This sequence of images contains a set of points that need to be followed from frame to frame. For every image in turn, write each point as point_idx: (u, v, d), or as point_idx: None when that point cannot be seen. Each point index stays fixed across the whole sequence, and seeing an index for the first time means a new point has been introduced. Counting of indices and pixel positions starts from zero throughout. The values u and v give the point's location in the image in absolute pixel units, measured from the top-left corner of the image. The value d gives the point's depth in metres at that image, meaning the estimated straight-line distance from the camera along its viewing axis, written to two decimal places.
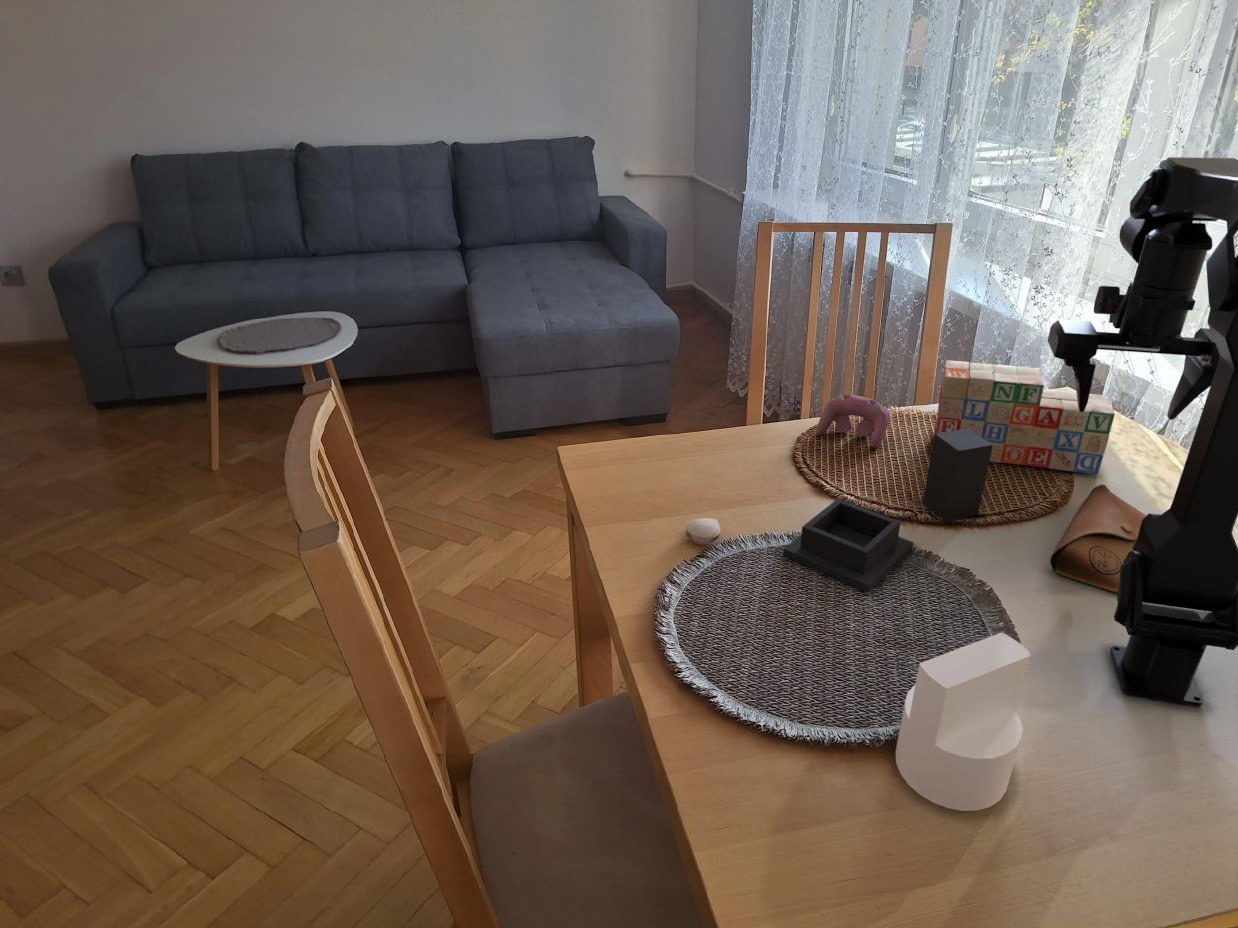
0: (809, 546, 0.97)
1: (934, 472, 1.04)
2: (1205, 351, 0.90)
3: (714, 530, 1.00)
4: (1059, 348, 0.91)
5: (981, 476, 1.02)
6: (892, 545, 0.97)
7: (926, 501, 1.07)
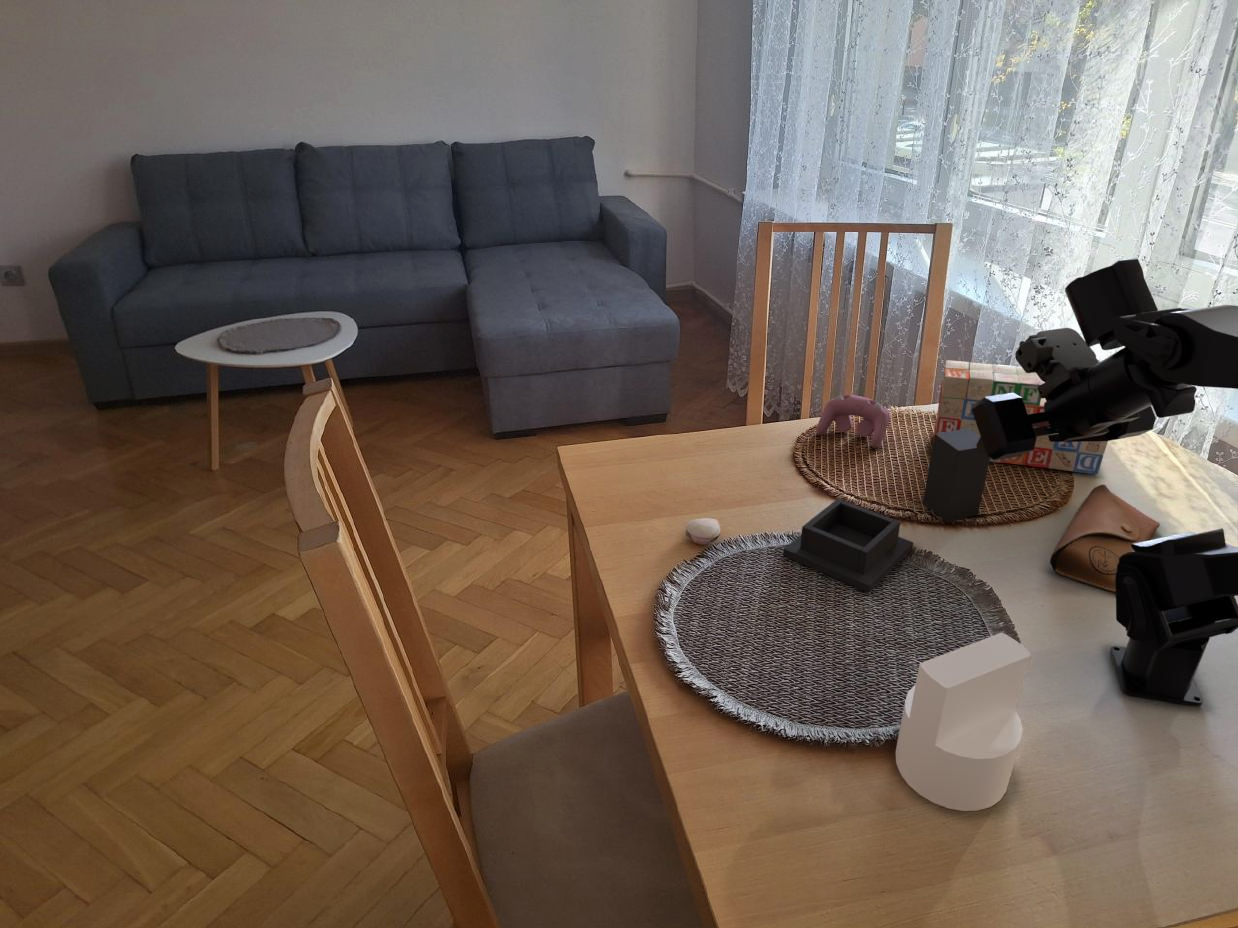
0: (809, 546, 0.97)
1: (934, 472, 1.04)
2: None
3: (714, 530, 1.00)
4: (997, 454, 0.82)
5: (981, 476, 1.02)
6: (892, 545, 0.97)
7: (926, 501, 1.07)
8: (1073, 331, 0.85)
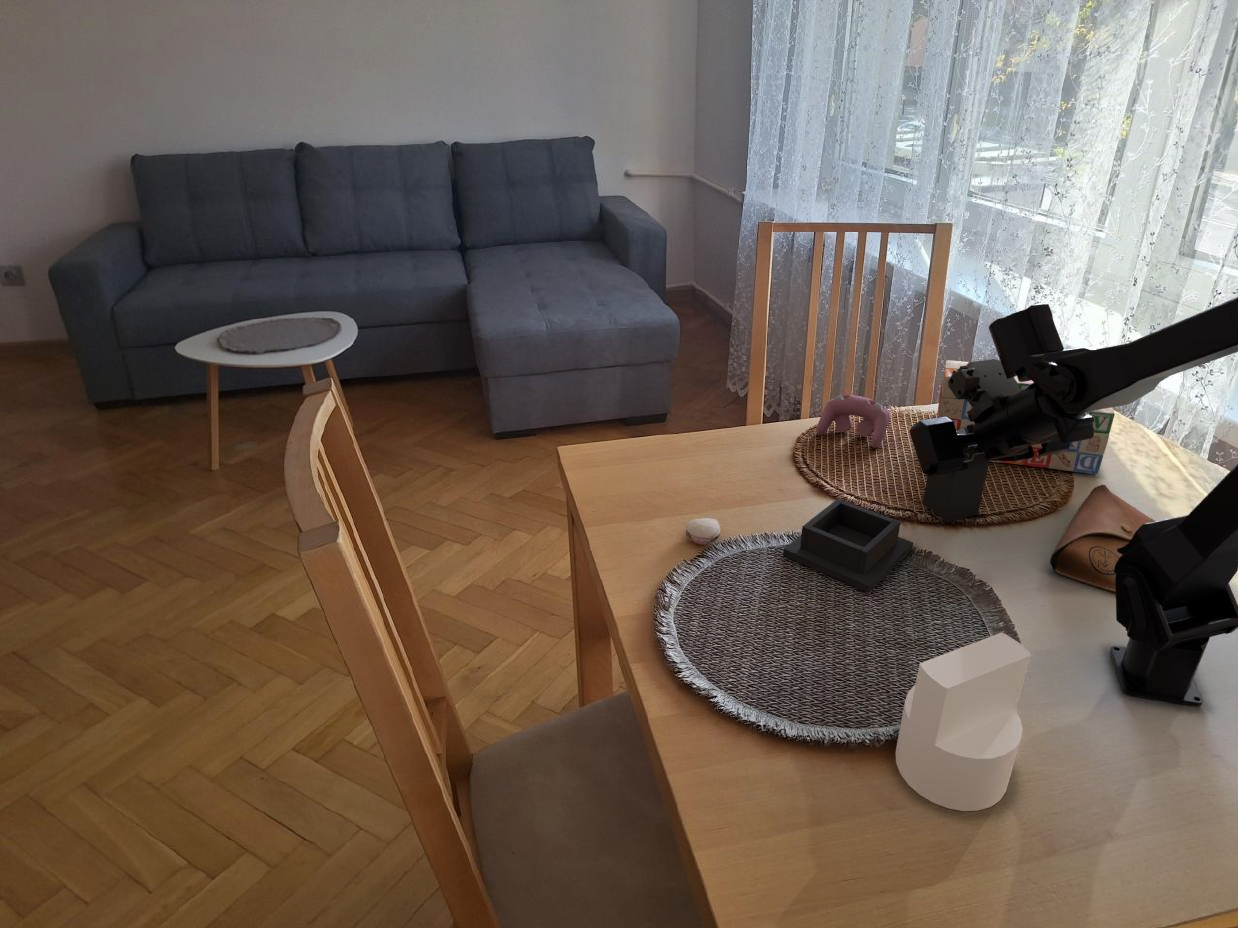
0: (809, 546, 0.97)
1: None
2: None
3: (714, 530, 1.00)
4: (930, 471, 0.93)
5: (981, 476, 1.02)
6: (892, 545, 0.97)
7: (926, 501, 1.07)
8: (999, 362, 0.96)
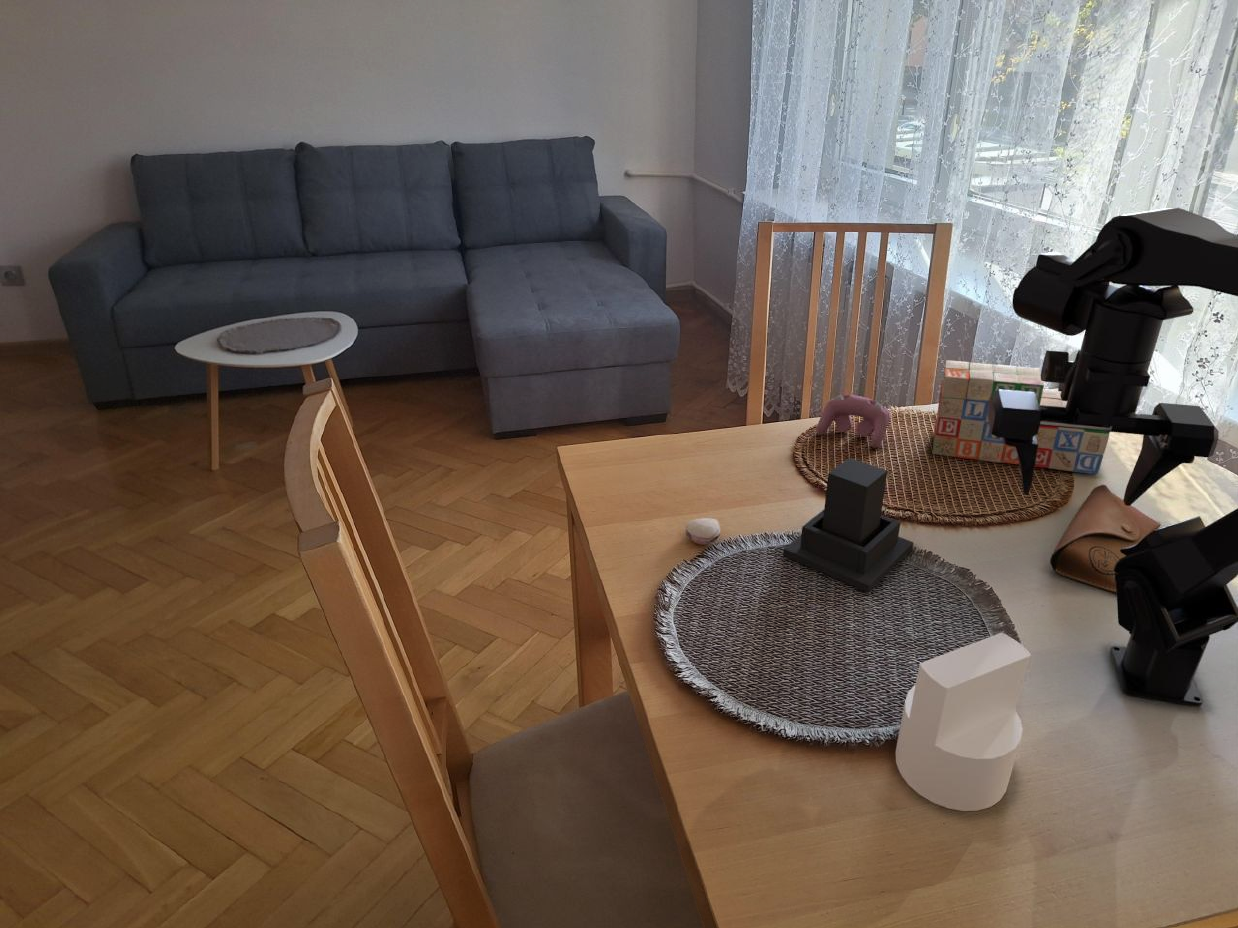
0: (809, 546, 0.97)
1: (833, 513, 0.95)
2: (1164, 431, 0.77)
3: (714, 530, 1.00)
4: (996, 425, 0.79)
5: (880, 505, 0.95)
6: (892, 545, 0.97)
7: None
8: None
